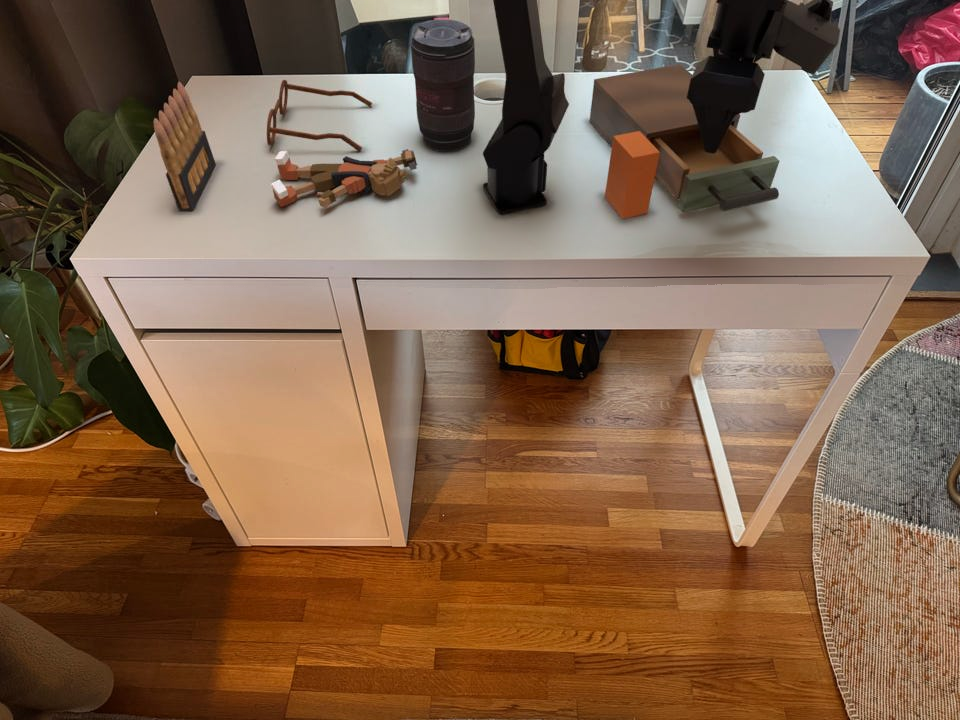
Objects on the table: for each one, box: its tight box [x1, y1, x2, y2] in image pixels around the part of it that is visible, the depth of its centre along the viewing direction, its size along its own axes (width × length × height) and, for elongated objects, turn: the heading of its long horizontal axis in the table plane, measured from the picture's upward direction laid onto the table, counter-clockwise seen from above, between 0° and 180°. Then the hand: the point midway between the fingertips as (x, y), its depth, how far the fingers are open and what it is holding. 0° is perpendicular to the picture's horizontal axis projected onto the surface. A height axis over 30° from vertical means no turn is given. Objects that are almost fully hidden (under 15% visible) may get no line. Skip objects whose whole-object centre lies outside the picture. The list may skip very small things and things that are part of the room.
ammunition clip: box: [153, 81, 217, 212], centre depth 88 cm, size 11×2×12 cm, turn 179°
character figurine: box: [271, 148, 418, 209], centre depth 90 cm, size 12×5×18 cm
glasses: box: [266, 79, 373, 152], centre depth 100 cm, size 13×13×5 cm
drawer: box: [650, 124, 780, 214], centre depth 88 cm, size 19×12×5 cm, turn 19°
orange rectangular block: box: [604, 131, 660, 220], centre depth 85 cm, size 5×4×8 cm
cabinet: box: [589, 63, 741, 148], centre depth 96 cm, size 15×13×6 cm
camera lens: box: [410, 18, 476, 152], centre depth 94 cm, size 8×8×15 cm
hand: (717, 130), depth 76 cm, fingers open, 9 cm apart
